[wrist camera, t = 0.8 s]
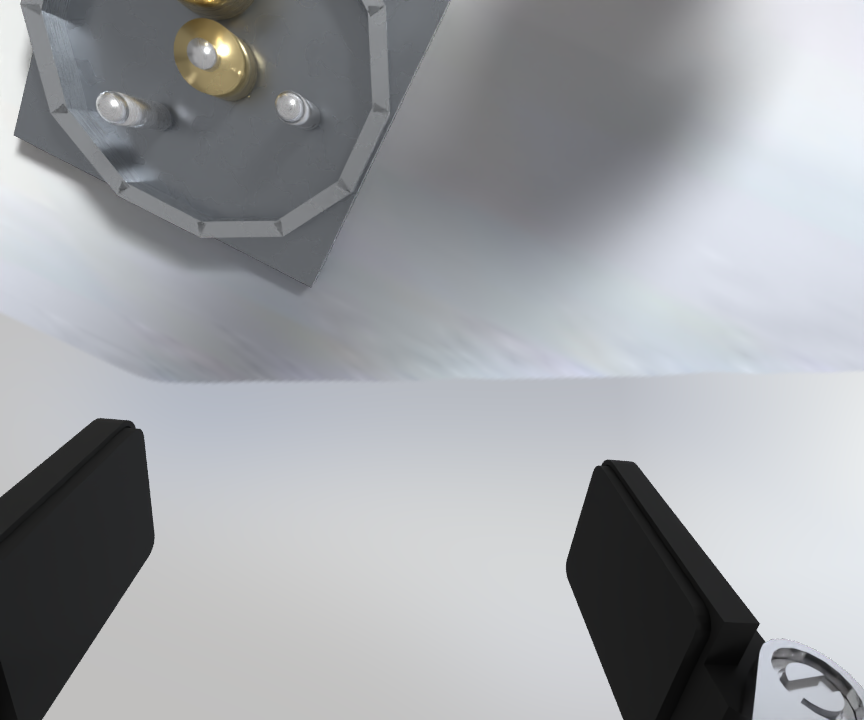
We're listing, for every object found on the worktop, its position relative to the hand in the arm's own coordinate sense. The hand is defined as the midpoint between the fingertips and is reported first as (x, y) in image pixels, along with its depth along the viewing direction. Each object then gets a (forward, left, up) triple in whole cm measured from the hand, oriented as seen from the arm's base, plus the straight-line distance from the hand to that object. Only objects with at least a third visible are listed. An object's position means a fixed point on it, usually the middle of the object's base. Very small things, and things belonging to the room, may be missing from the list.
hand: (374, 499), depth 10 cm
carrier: (-5, -14, -28) cm, 32 cm away
